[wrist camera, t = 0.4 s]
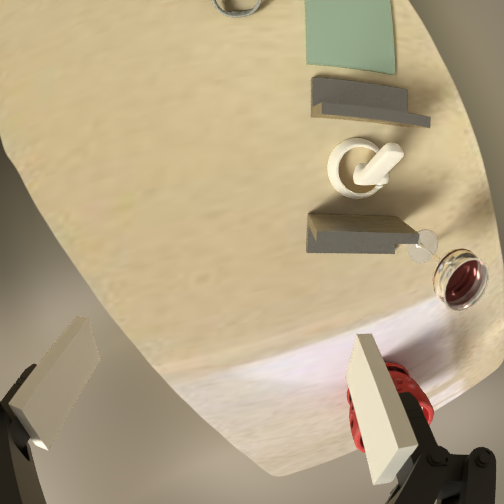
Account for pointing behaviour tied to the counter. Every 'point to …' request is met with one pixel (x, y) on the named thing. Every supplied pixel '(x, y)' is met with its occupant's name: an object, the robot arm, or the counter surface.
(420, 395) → the plant pot
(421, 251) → the wineglass
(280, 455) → the counter surface
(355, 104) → the dark grey bookends
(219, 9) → the ceramic mug
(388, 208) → the counter surface
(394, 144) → the white curved piece
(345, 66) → the mat
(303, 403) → the counter surface
